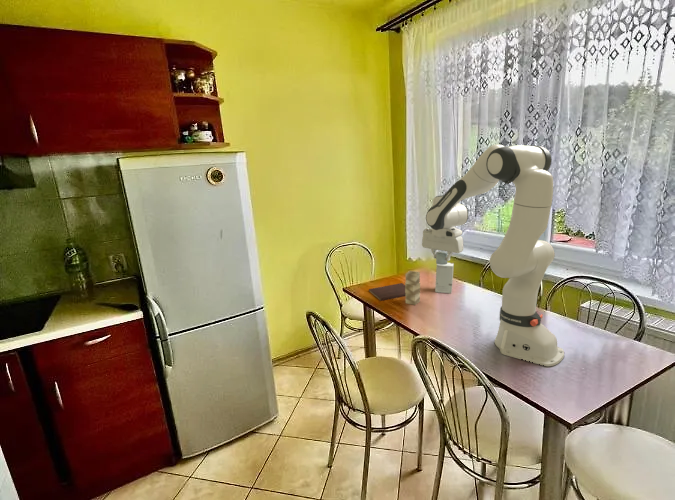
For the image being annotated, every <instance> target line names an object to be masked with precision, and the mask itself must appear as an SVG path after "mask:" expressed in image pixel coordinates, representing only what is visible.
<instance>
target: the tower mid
mask: <svg viewBox="0 0 675 500" xmlns="http://www.w3.org/2000/svg"><path fill="white" fill-rule="evenodd" d="M404 285H405V293H407V294H410V295H416V294H418V293H420V294H421V282H419V283H418V284H417V285H416V286H415V285H409V284H406V282H404Z"/></svg>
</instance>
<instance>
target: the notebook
mask: <svg viewBox="0 0 675 500" xmlns="http://www.w3.org/2000/svg"><path fill="white" fill-rule="evenodd" d="M368 292H370V293H371V294H372V295H373V296H374V297H375V298H377V300H379V301H380V302H381V301H388V300H393V299H398V298H403V297H406V293H405V283H403V282H402V283H396V284H395V283H393V284H389V285H385V286H378V287H374V288H373V287H372V288H369V289H368Z"/></svg>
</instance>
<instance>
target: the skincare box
mask: <svg viewBox="0 0 675 500" xmlns="http://www.w3.org/2000/svg"><path fill="white" fill-rule="evenodd" d="M454 265H455V264H454V262H447V264H445V265H439V264H436V273H435V287H434V291H435V292H434V293H440V294H441V293H442V294H452V292H453V278H454Z"/></svg>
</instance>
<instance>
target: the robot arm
mask: <svg viewBox="0 0 675 500" xmlns="http://www.w3.org/2000/svg"><path fill="white" fill-rule="evenodd" d="M551 165H552V155H551V152H550V151H549V150H548V148H545V147H543V146H540V145H524V144H523V145H522V144H518V145H510V146H505V145H502V144H497V143H496V144H491V145H490V146H489V147H488V148H486V149H485V150H484V151H483V152H482V153H481V154H480V156H479V157H477V159H476V160H475V162H474V163H473V165H472V166H471V168H470V169H469V170H468V171H467V172H466V173H465V174H464V175H463V176H462V177H461V178H459V179H458V180H457V181H456V182H454V183H453V185H451V186H450V188H448V190H447V191H446V192H445V194H443V195H437V196H434V197H433V200H432V205H431V206H430V208H428V210H427V212H426V215H425V221H426V224H427V225H428V226H429V227H430V228H425V229H423V231H422V241H421V246H422V248H424V249H431V250H430V251H431V254H432V255H433V259H436V252H437V251H440V252H447V257H445V260H446V261H447V262H449V261H451V256H452V254H454V253H455V254H461V253H462V252H463V251H464V238H463V236H462V234H463V230H461V229H459V228H457V227H459V226H462V225H463V226H464V225H466V223H467V221H468V220H469V210H468V208H467V205H464V204H462V203H460V202H461V201H463V200H467V199H468V198H471V197H475V196H478V195H479V196H480V195H483V194H486V193H487V192H489V191H490V190H492V189H493V188H494V187H495V186H496V185H497V183H498V182H499V181H501V182H503V183H504V184H506V185H508V184H511V183H513V185H514V186H515V194H514V199H513V205H512V210H511V215H510V216H511V217H510V221H509V225H508V228H507V230H506V233H505V234H504V237H503V239H502V241H501V242H500V244H499V246H498V247H497V248H496V249H495V250H494V252H492V254H491V256H490V258H489V266H490V269H491V270H492V272H493V273H494V274H495V275H496V276H497V277H500V278H503V279H508V280H507V281H506V283H505V284H504V285H503V288H502V294H501V295H502V296H501V297H502V299H501V306H500V309H499V327H498V330H497V333H496V334H497V335H496V337H495V339H494V344H495V346H496V347H497V348H498V349H499V351H500V354H501V355H504V356H507V357H509V358H510V357H511V358H514V359H518V360H521V359H523V360H522V361H525V360H526V361H525V362H529V361H530V362H529V363H532V362H533V364H535V365H539V364H540V366H543V365H544V367H554V366H556V365H558V364H560V363H561V362H562V360H563V359H564V357H565V351H564V349H563V348H562V347H560V346H558V340H557V336H556V335H555V334H554V333H553V332H552V331H550V330H549V328H547V327H546V326H545V325H544V324H543V323H542V318H543V314H542V313H541V314H540V315H539V313H538V312H537V302H538V295H539V294H538V293H539V290H540V287H541V283H542V281H543V279H544V276H545V274H546V271H547V270H548V267H549V266H550V265H551V264H552V263H553V261H554V259H555V250H554V247H553V246H552V245H551V243H549V242H548V241H546V240H541V239H540V237H541V236H542V235H543V234H544V233H545V231H546V230H547V227H548V225H549V219H550V214H551V208H552V204H553V203H552V202H553V197H554V195H553V194H554V176H553V175H552V173H551V172H549V169H550V167H551Z"/></svg>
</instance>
